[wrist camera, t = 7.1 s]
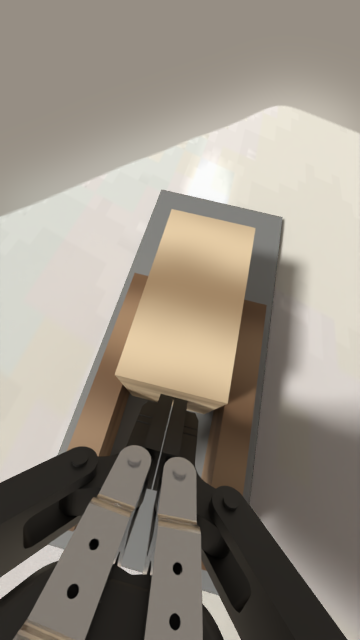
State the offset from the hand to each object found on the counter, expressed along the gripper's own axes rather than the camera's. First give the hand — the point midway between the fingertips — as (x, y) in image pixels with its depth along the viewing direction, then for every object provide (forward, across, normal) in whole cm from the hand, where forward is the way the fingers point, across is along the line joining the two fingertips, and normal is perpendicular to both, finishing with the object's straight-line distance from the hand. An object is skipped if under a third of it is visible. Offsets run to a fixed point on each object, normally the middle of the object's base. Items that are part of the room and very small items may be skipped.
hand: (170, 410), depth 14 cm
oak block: (+7, 0, -1) cm, 7 cm away
